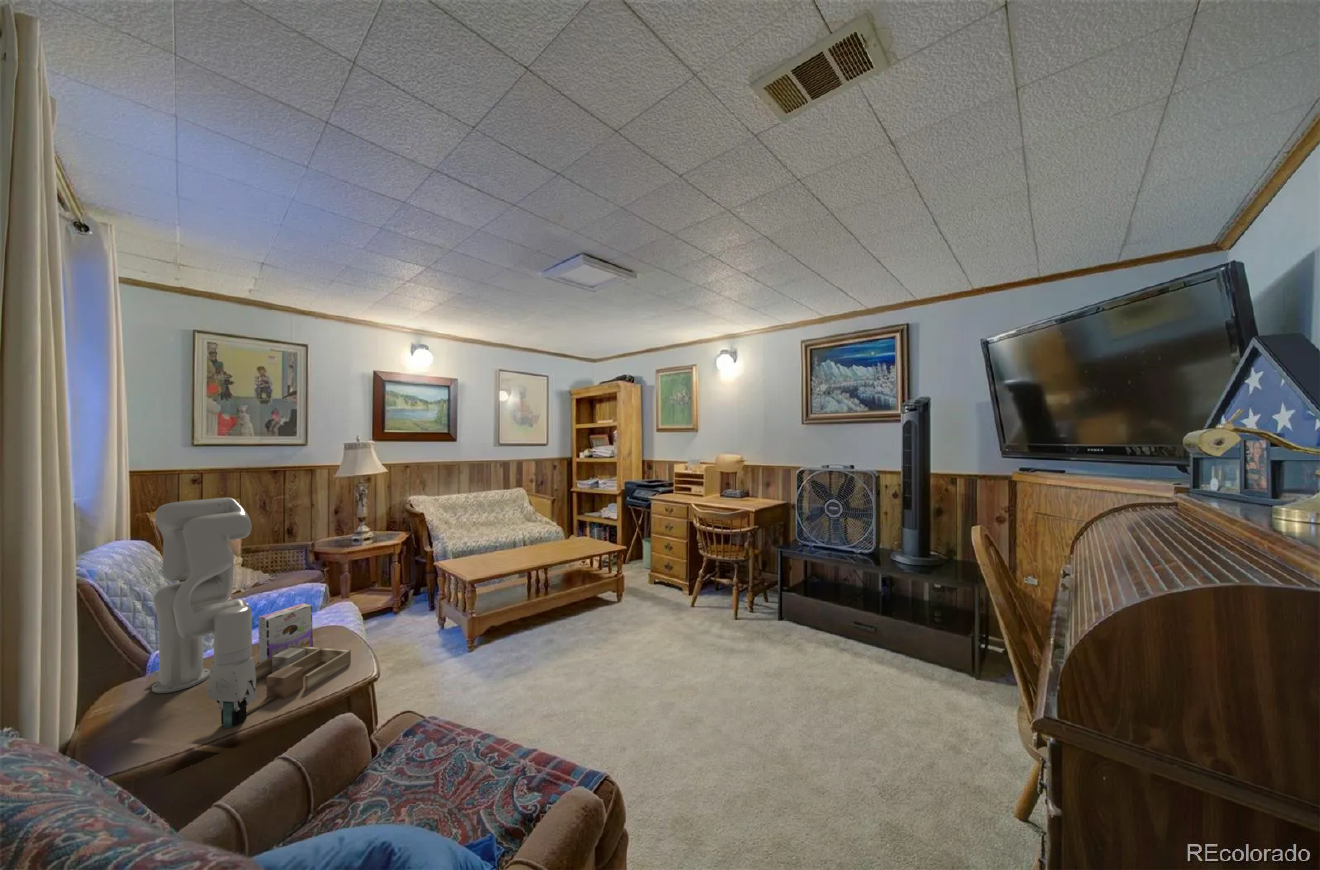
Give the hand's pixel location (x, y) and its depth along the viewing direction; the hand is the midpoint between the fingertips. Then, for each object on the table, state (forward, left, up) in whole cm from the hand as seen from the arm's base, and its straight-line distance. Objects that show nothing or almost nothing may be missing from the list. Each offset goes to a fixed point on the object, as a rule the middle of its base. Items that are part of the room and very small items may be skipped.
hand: (234, 721), depth 123 cm
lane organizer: (-5, +24, -1) cm, 25 cm away
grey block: (-10, +25, -1) cm, 28 cm away
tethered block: (0, +8, -1) cm, 8 cm away
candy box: (-21, +34, -1) cm, 41 cm away
